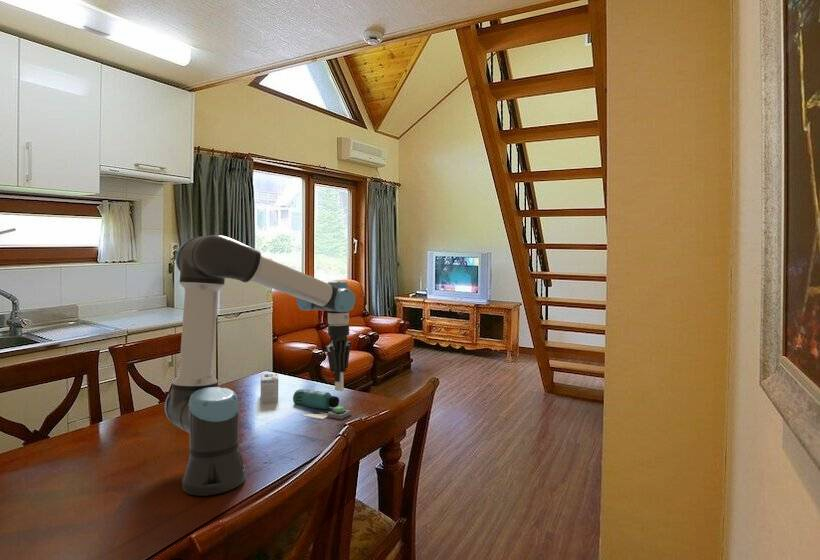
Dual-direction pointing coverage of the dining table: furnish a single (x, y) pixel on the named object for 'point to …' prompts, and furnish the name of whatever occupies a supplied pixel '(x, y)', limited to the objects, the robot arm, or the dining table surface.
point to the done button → (339, 409)
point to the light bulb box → (269, 388)
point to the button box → (339, 416)
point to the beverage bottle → (315, 399)
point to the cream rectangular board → (316, 416)
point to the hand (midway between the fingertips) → (339, 390)
